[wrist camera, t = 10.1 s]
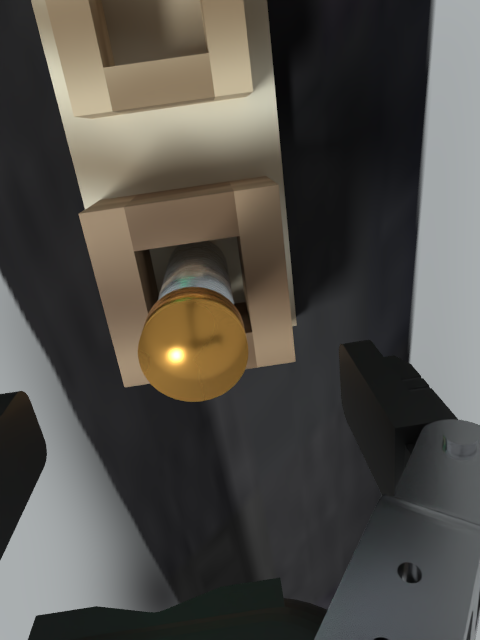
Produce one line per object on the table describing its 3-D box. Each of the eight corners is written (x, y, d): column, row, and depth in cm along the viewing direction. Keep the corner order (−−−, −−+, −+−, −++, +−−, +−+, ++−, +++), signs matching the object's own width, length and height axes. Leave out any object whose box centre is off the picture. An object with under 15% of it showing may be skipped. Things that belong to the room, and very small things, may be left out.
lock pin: (158, 240, 23) (126, 311, 13) (226, 230, 23) (241, 294, 14) (171, 303, 24) (150, 408, 15) (235, 294, 24) (254, 393, 15)
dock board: (22, -63, 19) (-39, -126, 14) (254, -94, 19) (270, -167, 14) (125, 343, 26) (107, 389, 21) (293, 318, 26) (312, 359, 21)
